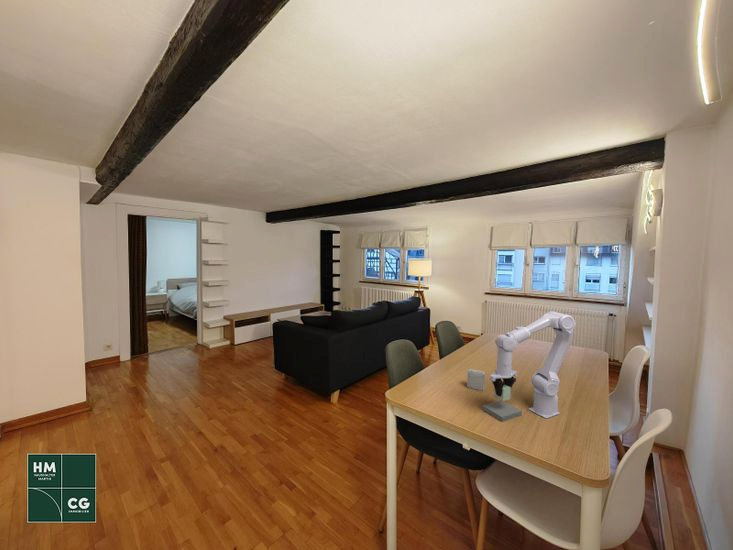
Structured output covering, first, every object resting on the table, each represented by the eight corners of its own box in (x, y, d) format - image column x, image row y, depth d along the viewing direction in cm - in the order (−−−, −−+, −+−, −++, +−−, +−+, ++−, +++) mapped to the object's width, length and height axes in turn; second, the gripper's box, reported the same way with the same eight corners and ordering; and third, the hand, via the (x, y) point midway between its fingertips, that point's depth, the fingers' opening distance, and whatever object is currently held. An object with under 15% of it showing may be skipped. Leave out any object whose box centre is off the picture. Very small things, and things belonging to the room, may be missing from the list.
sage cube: (501, 394, 125) (501, 383, 125) (510, 398, 121) (510, 387, 121) (494, 396, 123) (494, 384, 123) (502, 400, 119) (503, 389, 119)
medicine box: (484, 388, 146) (485, 371, 145) (483, 391, 142) (484, 374, 141) (468, 384, 150) (469, 368, 149) (466, 387, 146) (467, 371, 145)
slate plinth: (501, 404, 130) (501, 400, 130) (521, 415, 121) (521, 410, 121) (482, 409, 125) (482, 405, 124) (501, 421, 116) (502, 417, 115)
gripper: (507, 358, 128) (506, 387, 129) (484, 362, 122) (482, 393, 123) (522, 363, 122) (520, 394, 122) (498, 368, 115) (496, 400, 116)
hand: (502, 394), depth 122 cm, fingers closed on sage cube, 4 cm apart
